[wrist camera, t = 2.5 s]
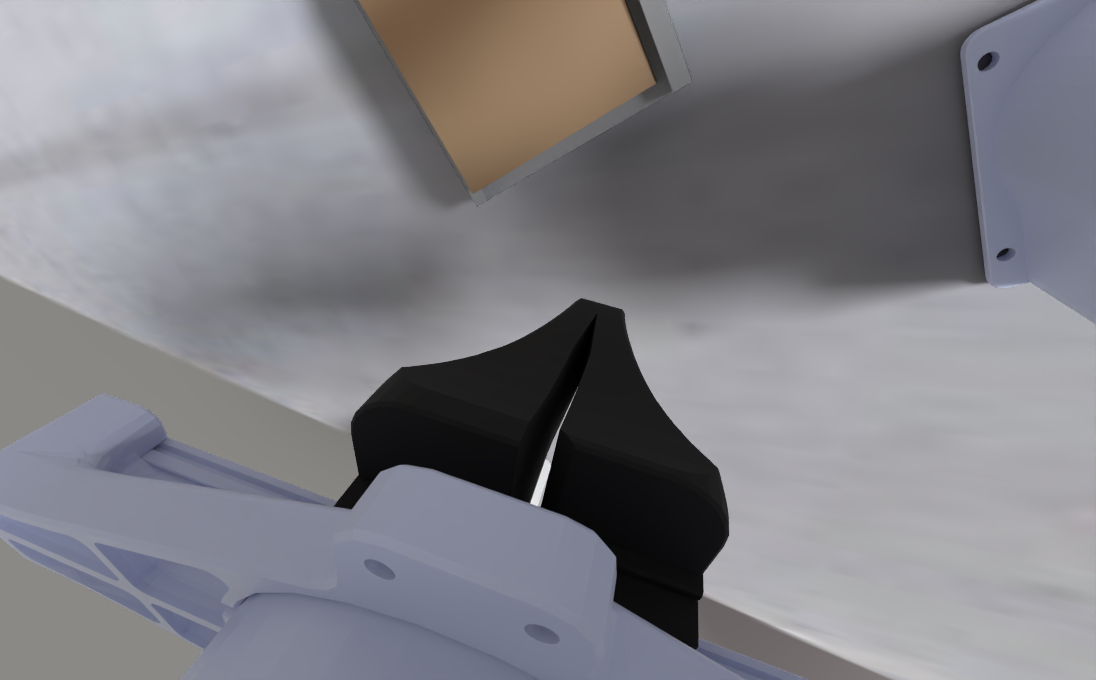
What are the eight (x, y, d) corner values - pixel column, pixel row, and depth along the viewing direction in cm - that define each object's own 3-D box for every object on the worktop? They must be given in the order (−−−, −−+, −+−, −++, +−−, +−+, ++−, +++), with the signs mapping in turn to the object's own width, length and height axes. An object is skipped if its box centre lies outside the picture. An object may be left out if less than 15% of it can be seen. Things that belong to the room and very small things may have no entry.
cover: (657, 83, 14) (651, 86, 12) (497, 179, 18) (473, 194, 15) (525, -269, 11) (488, -344, 9) (359, -69, 14) (305, -90, 12)
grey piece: (691, 78, 16) (691, 81, 13) (507, 186, 20) (476, 206, 17) (563, -291, 12) (524, -401, 9) (369, -62, 16) (301, -89, 14)
